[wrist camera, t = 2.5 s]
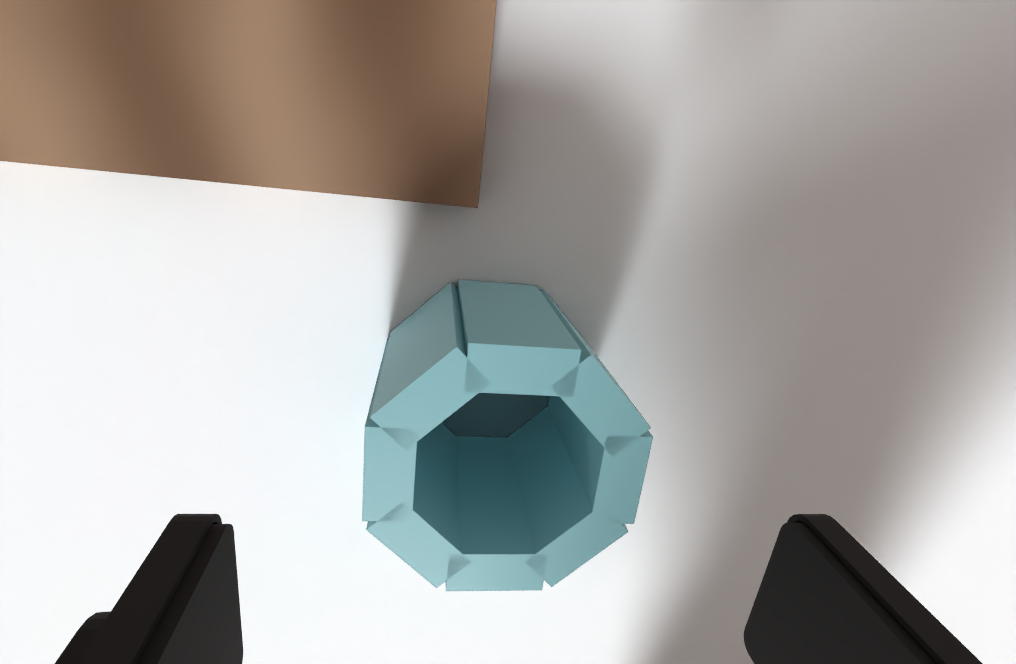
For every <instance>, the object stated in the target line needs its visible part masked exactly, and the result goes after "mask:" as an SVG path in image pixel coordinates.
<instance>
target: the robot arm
mask: <svg viewBox="0 0 1016 664" xmlns="http://www.w3.org/2000/svg"><path fill="white" fill-rule="evenodd" d="M744 642H745V646H746V649H747V651H748V653H749V655H750V657H751V659H752V660H753V662H754V664H982V663H981V662H980V661H979V660H978V659H977V658H976V657H975V656H974V655H973V654H972V653H971V652H970V651H969V650H968V649H967V648H966V647H965V646H964V645H963V644H962V643H961V642H960V641H959V640H958V639H957V638H956V637H955V636H954V635H953V634H952V633H951V632H950V631H948V630H947V629H946V628H945V627H944V626H943V625H942V624H941V623H940V622H939V621H938V620H937V619H936V618H935V617H934V616H933V615H932V614H931V613H930V612H929V611H928V610H927V609H926V608H925V607H924V606H923V605H922V604H921V603H920V602H919V601H918V600H917V599H916V598H915V597H914V596H913V595H912V594H911V593H910V592H909V591H907V590H906V589H905V588H904V587H903V586H902V585H901V584H900V583H899V582H898V581H897V580H896V579H895V578H894V577H893V576H892V575H891V574H890V573H889V572H888V571H887V570H886V569H885V568H884V567H883V566H882V565H881V564H880V563H879V562H878V561H877V560H876V559H875V558H874V557H873V556H872V555H871V554H870V553H869V552H867V551H866V550H865V549H864V548H863V547H862V546H861V545H860V544H859V543H858V542H857V541H856V540H855V539H854V538H853V537H852V536H851V535H850V534H849V533H848V532H847V531H846V530H845V529H844V528H843V527H842V526H841V525H840V524H839V523H838V522H837V521H836V520H835V519H833V518H832V517H830V516H828V515H825V514H797V515H793V516H792V517H790V518H789V520H788V522H787V523H785V524H784V525H783V526H782V527H781V529H780V532H779V535H778V538H777V541H776V543H775V546H774V549H773V552H772V555H771V557H770V560H769V563H768V566H767V568H766V571H765V574H764V577H763V580H762V582H761V585H760V588H759V591H758V594H757V596H756V599H755V602H754V605H753V607H752V610H751V613H750V616H749V619H748V621H747V624H746V627H745V630H744ZM242 660H243V642H242V629H241V617H240V604H239V592H238V579H237V566H236V554H235V541H234V530H233V526H232V525H231V524H222V522H221V518H220V516H219V515H218V514H177V515H175V516H174V517H173V518H172V519H171V521H170V522H169V523H168V525H167V527H166V528H165V530H164V531H163V533H162V534H161V536H160V537H159V539H158V540H157V542H156V543H155V545H154V546H153V548H152V550H151V551H150V553H149V554H148V556H147V557H146V559H145V560H144V562H143V563H142V565H141V566H140V568H139V570H138V571H137V573H136V574H135V576H134V577H133V579H132V580H131V582H130V583H129V585H128V586H127V588H126V589H125V591H124V593H123V594H122V596H121V597H120V599H119V600H118V602H117V603H116V605H115V606H114V608H113V609H112V611H111V612H99V613H95V614H94V615H92V616H91V617H89V618H88V619H87V620H86V621H85V622H84V624H83V625H82V626H81V627H80V628H79V630H78V631H77V632H76V634H75V635H74V637H73V638H72V640H71V641H70V642H69V644H68V645H67V647H66V648H65V650H64V651H63V653H62V654H61V655H60V657H59V658H58V660H57V661H56V663H55V664H242Z"/></svg>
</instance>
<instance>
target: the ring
mask: <svg viewBox="0 0 1016 664" xmlns="http://www.w3.org/2000/svg"><path fill="white" fill-rule="evenodd" d="M478 393H499V394H520V395H542V396H549V401H548V406H547V407H546V408H545V409H543V410H542V411H541V412H540V413H538V414H537V415H536V416H534V417H533V418H532V419H531V420H529V421H528V422H527V423H525V424H524V425H523V426H521V427H520V428H519V429H518V430H516V431H515V432H514V433H512V434H511V435H510V436H509V437H477V436H455V435H454V434H453V433H452V432H451V431H450V430H449V429H448V428H447V427H446V426H445V425H444V424H443V423H442V422H443V421H444V420H445V419H446V418H448V417H449V416H450V415H452V414H453V413H454V412H455V411H457V410H458V409H459V408H460V407H462V406H463V405H464V404H465V403H467V402H468V401H469V400H470V399H472V398H473V397H474V396H475V395H477V394H478ZM650 428H651V427H650V426H649V425H648V423H647V422H646V421H645V419H644V418H643V417H642V415H641V414H640V413H639V411H638V410H637V409H636V407H635V406H634V405H633V403H632V402H631V401H630V399H629V398H628V397H627V395H626V394H625V393H624V391H623V390H622V389H621V387H620V386H619V385H618V383H617V382H616V381H615V379H614V378H613V377H612V375H611V374H610V373H609V371H608V370H607V369H606V367H605V366H604V365H603V363H602V362H601V361H600V360H599V358H598V357H597V356H596V354H595V353H594V352H593V350H592V349H591V348H590V346H589V345H588V344H587V342H586V341H585V340H584V339H583V337H582V336H581V335H580V334H579V332H578V331H577V330H576V329H575V328H574V326H573V325H572V324H571V323H570V321H569V320H568V319H567V318H566V316H565V315H564V314H563V313H562V312H561V310H560V309H559V308H558V307H557V305H556V304H555V303H554V302H553V300H552V299H551V298H550V297H549V296H548V294H547V293H546V292H545V291H544V289H543V290H542V291H540V290H539V289H538V287H537V286H536V285H524V284H511V283H498V282H485V281H472V280H460V279H459V281H458V290H457V289H456V288H455V286H454V285H453V284H452V283H451V282H450V283H449V284H447V285H446V286H445V287H444V288H443V289H441V290H440V291H439V292H438V293H437V294H435V295H434V296H433V297H432V298H431V299H429V300H428V301H427V302H426V303H425V304H423V305H422V306H421V307H420V308H419V309H417V310H416V311H415V312H414V313H413V314H411V315H410V316H409V317H408V318H407V319H405V320H404V321H403V322H402V323H400V324H399V325H398V326H397V327H396V328H394V329H393V330H392V331H391V334H390V338H388V339H387V342H386V346H385V350H384V354H383V358H382V362H381V366H380V370H379V374H378V377H377V381H376V385H375V389H374V393H373V397H372V401H371V405H370V409H369V413H368V416H367V420H366V424H365V437H364V473H363V509H362V521H368V523H367V529H366V530H367V531H368V532H370V533H371V534H372V535H373V536H374V537H376V538H377V539H378V540H379V541H380V542H382V543H383V544H384V545H385V546H386V547H388V548H389V549H390V550H391V551H392V552H394V553H395V554H396V555H397V556H398V557H400V558H401V559H402V560H403V561H404V562H406V563H407V564H408V565H409V566H410V567H412V568H413V569H414V570H415V571H416V572H418V573H419V574H420V575H421V576H422V577H424V578H425V579H426V580H427V581H428V582H430V583H431V584H432V585H433V586H434V587H436V588H437V587H439V586H440V585H441V584H443V583H444V582H445V581H446V591H510V590H542V587H543V581H544V580H545V581H546V582H547V583H548V584H549V585H550V586H551V587H552V586H554V585H555V584H557V583H558V582H559V581H561V580H562V579H564V578H565V577H566V576H568V575H569V574H570V573H572V572H573V571H575V570H576V569H577V568H579V567H580V566H581V565H583V564H584V563H586V562H587V561H588V560H590V559H591V558H593V557H594V556H595V555H597V554H598V553H599V552H601V551H602V550H604V549H605V548H606V547H608V546H609V545H611V544H612V543H613V542H615V541H616V540H617V539H619V538H620V537H622V536H623V535H624V534H626V533H627V532H628V530H627V528H626V526H625V524H634V521H635V517H636V512H637V508H638V503H639V498H640V494H641V489H642V485H643V480H644V476H645V471H646V467H647V462H648V458H649V453H650V449H651V444H652V440H653V436H652V435H651V434H650V432H649V431H648V430H649V429H650Z"/></svg>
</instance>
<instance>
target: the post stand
mask: <svg viewBox="0 0 1016 664" xmlns="http://www.w3.org/2000/svg"><path fill="white" fill-rule="evenodd" d="M496 1H497V0H0V161H8V162H18V163H28V164H38V165H48V166H59V167H69V168H79V169H89V170H99V171H109V172H119V173H129V174H139V175H150V176H160V177H170V178H180V179H190V180H200V181H210V182H220V183H231V184H241V185H251V186H261V187H271V188H281V189H291V190H301V191H312V192H322V193H332V194H342V195H352V196H362V197H372V198H382V199H393V200H403V201H413V202H423V203H433V204H443V205H453V206H463V207H474V208H478V202H479V190H480V179H481V168H482V157H483V146H484V135H485V124H486V113H487V101H488V90H489V79H490V68H491V57H492V46H493V35H494V23H495V12H496Z"/></svg>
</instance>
